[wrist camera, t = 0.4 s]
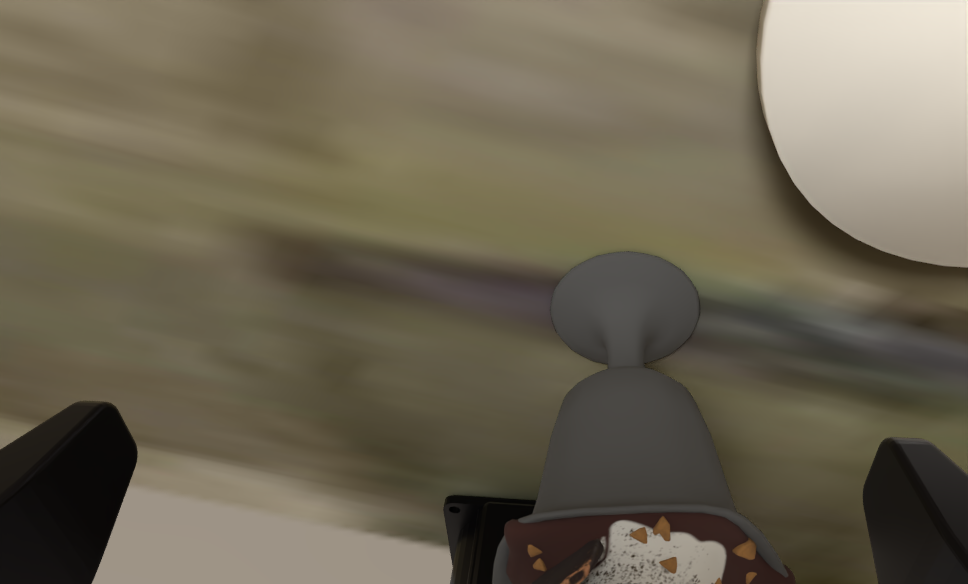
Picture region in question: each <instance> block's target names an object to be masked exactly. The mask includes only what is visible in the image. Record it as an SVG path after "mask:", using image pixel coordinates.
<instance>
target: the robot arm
mask: <svg viewBox="0 0 968 584" xmlns="http://www.w3.org/2000/svg"><path fill="white" fill-rule="evenodd" d="M136 463H137V446H136V443H135V441H134V439H133V437H132V435H131V433H130V432H129V430H128V428H127V426H126V424H125V422H124V420H123V418H122V416H121V415H120V413H119V411H118V409H117V408H116V407H115V406H114V405H113V404H111V403H109V402H100V401H80V402H76V403H74V404H72V405H70V406H69V407H67V408H65V409H64V410H62V411H61V412H59V413H58V414H56V415H54V416H53V417H51V418H50V419H48V420H46V421H45V422H43V423H42V424H40V425H39V426H37V427H35V428H34V429H32V430H31V431H29V432H27V433H26V434H24V435H23V436H21V437H20V438H18V439H16V440H15V441H13V442H12V443H10V444H8V445H7V446H5V447H4V448H2V449H1V450H0V584H91V583H92V581H93V579H94V577H95V574H96V572H97V569H98V567H99V564H100V562H101V559H102V556H103V554H104V551H105V548H106V546H107V543H108V540H109V538H110V535H111V532H112V529H113V527H114V524H115V521H116V518H117V516H118V513H119V510H120V507H121V505H122V502H123V499H124V496H125V494H126V491H127V488H128V486H129V483H130V480H131V477H132V475H133V472H134V469H135V466H136ZM535 504H536V501H531V500H516V499H501V498H486V497H471V496H456V495H454V496H449V497H447V498H446V499H445V503H444V516H445V522H446V528H447V534H448V540H449V546H450V553H451V559H452V565H453V570H452V576H451V581H450V584H492V578H493V566H494V560H495V556H496V552H497V548H498V546H499V544H500V542H501V540H502V538H503V537H504V527H505V524H506V523H507V522H508V521H510V520H512V519H515V520H518V519H519V518H522V517H525V516H528V515H531V514H533V510H534V507H535ZM863 505H864V511H865V516H866V521H867V527H868V532H869V537H870V542H871V547H872V552H873V558H874V563H875V568H876V573H877V578H878V583H879V584H968V474H967V473H966V472H964V471H963V470H962V469H961V468H960V467H959V466H958V465H957V464H955V463H954V462H953V461H952V460H951V459H950V458H949V457H947V456H946V455H945V454H944V453H943V452H942V451H941V450H939V449H938V448H937V447H936V446H935V445H934V444H932V443H931V442H929V441H927V440H924V439H919V438H898V437H890V438H886V439H885V440H883V441H882V442H881V444H880V446H879V448H878V451H877V453H876V456H875V458H874V461H873V463H872V466H871V468H870V471H869V474H868V476H867V479H866V481H865V484H864V489H863Z"/></svg>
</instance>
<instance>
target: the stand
mask: <svg viewBox="0 0 968 584" xmlns="http://www.w3.org/2000/svg"><path fill="white" fill-rule="evenodd" d="M756 57H757V84H758V89H759V95H760V100H761V105H762V111H763V115H764V118H765V120H766V123H767V126H768V129H769V132H770V134H771V137H772V140H773V142H774V145H775V147H776V150H777V152H778V155H779V157H780V159H781V161H782V163H783V165H784V166H785V168H786V170H787V172H788V174H789V175H790V177H791V179H792V181H793V182H794V184H795V185H796V187H797V188H798V189H799V190H800V192H801V193H802V194H803V195H804V196H805V198H806V199H807V200H808V201H809V203H810V204H811V205H812V206H813V207H814V208H815V209H816V210H817V211H819V212H820V213H821V214H822V215H823V216H824V217H825V218H826V219H828V220H829V221H830V222H831V223H832V224H833V225H835V226H837V227H838V228H840V229H841V230H843V231H844V232H846V233H847V234H849V235H851V236H852V237H854V238H855V239H857V240H859V241H861V242H864V243H866V244H868V245H870V246H872V247H874V248H877V249H879V250H881V251H884V252H887V253H890V254H893V255H897V256H900V257H903V258H906V259H910V260H914V261H919V262H925V263H930V264H936V265H941V266H953V267H967V268H968V0H763V4H762V9H761V13H760V20H759V29H758V39H757V48H756Z"/></svg>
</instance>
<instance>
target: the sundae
mask: <svg viewBox="0 0 968 584" xmlns="http://www.w3.org/2000/svg"><path fill="white" fill-rule="evenodd" d="M550 313H551V319H552V322H553V325H554V328H555V331H556V332H557V333H558V335H559V336H560V337H561V339H562V340H563V341H564V342H565V343H566V344H567V345H568V346H569V347H570V348H571V349H572V350H573V351H575V352H577V353H578V354H580V355H582V356H583V357H586V358H588V359H590V360H592V361H595V362H600V363H604V364H608V369H606V370H603V371H600V372H597V373H595V374H593V375H591V376H589V377H587V378H585V379H584V380H582V381H580V382H579V383H578V384H577V385H575V386H574V387H573V388H572V389H571V390H570V391H569V392H568V393H567V395H566V396H565V398H564V400H563V403H562V406H561V409H560V411H559V414H558V417H557V420H556V423H555V426H554V429H553V432H552V436H551V439H550V444H549V448H548V453H547V457H546V462H545V466H544V471H543V475H542V480H541V484H540V489H539V493H538V497H537V501H536V504H535V507H534V510H533V514H531V515H528V516H525V517H522V518H519V519H518V520H515V519H512V520H510V521H508V522H507V523H506V524H505V527H504V537H503V538H502V540H501V542H500V544H499V546H498V548H497V552H496V556H495V560H494V566H493V578H492V584H795V578H794V575H793V572H792V571H791V570H790V569H789V568H788V567H787V566H786V565H784V564H782V562H781V560H780V558H779V556H778V554H777V553H776V552H775V550H774V549H773V547H772V546H771V544H770V543H769V541H768V540H767V539H766V537H765V536H764V534H763V533H762V532H761V531H760V530H759V529H758V528H757V527H756V526H755V525H753V524H752V523H751V522H750V521H749V520H748V519H747V518H746V517H745V516H743V515H741V514H739V513H737V511H736V508H735V506H734V503H733V500H732V498H731V495H730V492H729V489H728V486H727V483H726V480H725V476H724V473H723V470H722V467H721V464H720V461H719V458H718V455H717V452H716V449H715V446H714V443H713V440H712V437H711V434H710V432H709V430H708V428H707V426H706V424H705V421H704V419H703V417H702V415H701V413H700V411H699V409H698V406H697V404H696V402H695V401H694V399H693V397H692V396H691V394H690V393H689V391H688V390H687V388H685V387H684V386H683V385H682V384H681V383H679V382H677V381H675V380H673V379H672V378H670V377H668V376H666V375H664V374H662V373H659V372H657V371H655V370H652V369H649V368H645V365H644V363H648V362H651V361H654V360H657V359H660V358H662V357H664V356H666V355H669V354H671V353H672V352H674V351H675V350H676V349H677V348H679V347H680V346H681V345H682V344H683V343H684V342H685V341H686V340H687V339H688V338H689V337H690V335H691V334H692V332H693V330H694V328H695V326H696V324H697V321H698V318H699V315H700V302H699V297H698V292H697V290H696V288H695V287H694V285H693V283H692V282H691V280H690V279H689V278H688V277H687V275H686V274H685V273H684V272H683V271H682V270H681V269H679V268H678V267H676V266H675V265H673V264H672V263H670V262H668V261H666V260H664V259H662V258H660V257H657V256H653V255H648V254H644V253H637V252H629V251H628V252H617V253H609V254H604V255H599V256H596V257H594V258H591V259H589V260H587V261H584V262H583V263H581V264H579V265H577V266H576V267H574V268H572V269H571V270H570V271H569V272H568V273H567V274H566V275H565V276H564V277H563V278H562V280H561V281H560V282H559V284H558V285H557V286H556V288H555V290H554V293H553V296H552V300H551V306H550Z"/></svg>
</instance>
